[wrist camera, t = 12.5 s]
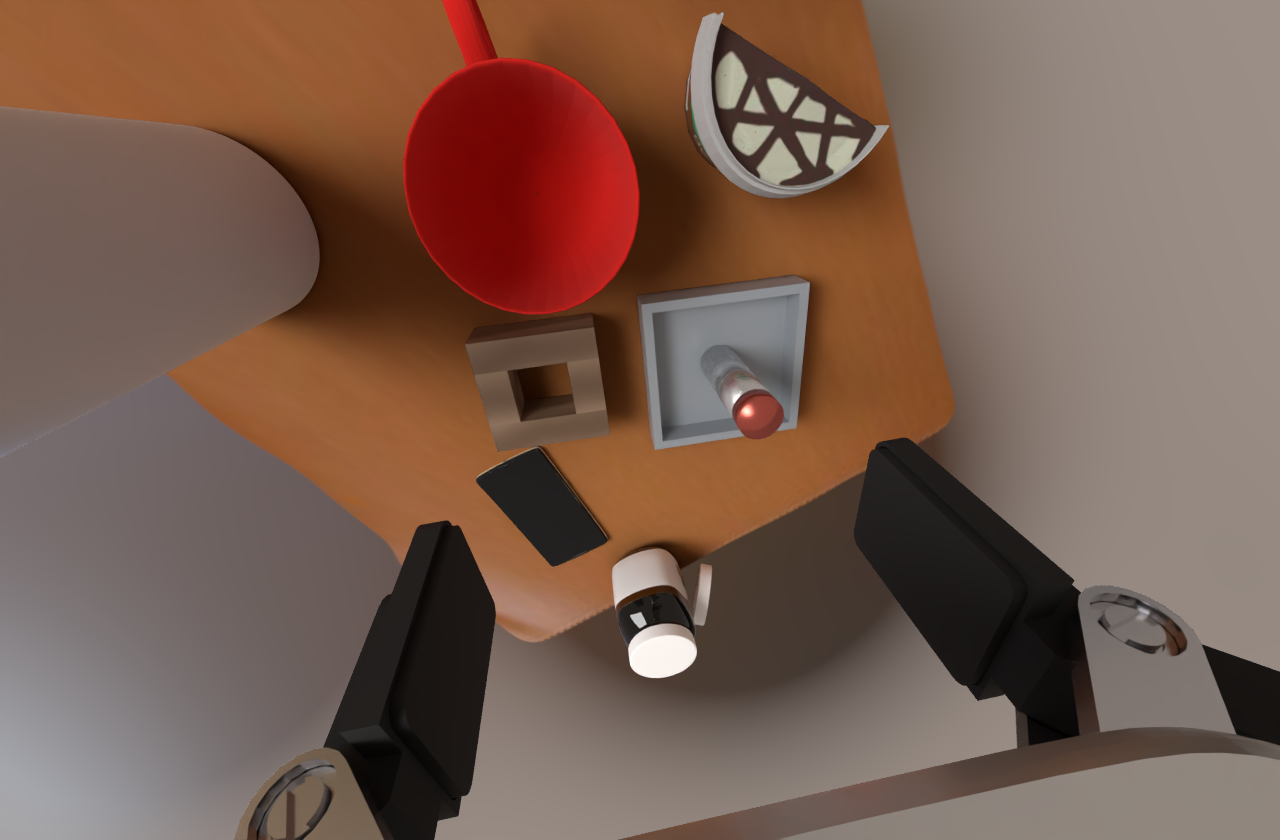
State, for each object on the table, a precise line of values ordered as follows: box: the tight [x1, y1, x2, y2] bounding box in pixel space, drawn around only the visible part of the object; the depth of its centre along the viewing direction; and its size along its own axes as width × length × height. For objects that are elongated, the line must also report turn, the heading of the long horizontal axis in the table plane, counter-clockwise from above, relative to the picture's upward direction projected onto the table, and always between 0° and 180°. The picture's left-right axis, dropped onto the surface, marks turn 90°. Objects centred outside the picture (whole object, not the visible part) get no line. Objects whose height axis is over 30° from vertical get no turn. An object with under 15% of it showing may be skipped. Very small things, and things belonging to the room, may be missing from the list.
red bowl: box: [403, 0, 640, 314], centre depth 29 cm, size 13×17×10 cm
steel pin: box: [700, 345, 784, 439], centre depth 37 cm, size 3×3×11 cm
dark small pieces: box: [476, 446, 608, 567], centre depth 49 cm, size 7×1×15 cm
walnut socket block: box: [465, 313, 610, 452], centre depth 39 cm, size 10×10×4 cm
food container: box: [684, 12, 889, 198], centre depth 30 cm, size 12×6×10 cm, turn 66°
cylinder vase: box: [0, 106, 320, 458], centre depth 22 cm, size 12×12×25 cm
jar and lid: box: [612, 547, 712, 678], centre depth 51 cm, size 12×11×12 cm
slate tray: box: [637, 275, 810, 450], centre depth 41 cm, size 14×14×3 cm
